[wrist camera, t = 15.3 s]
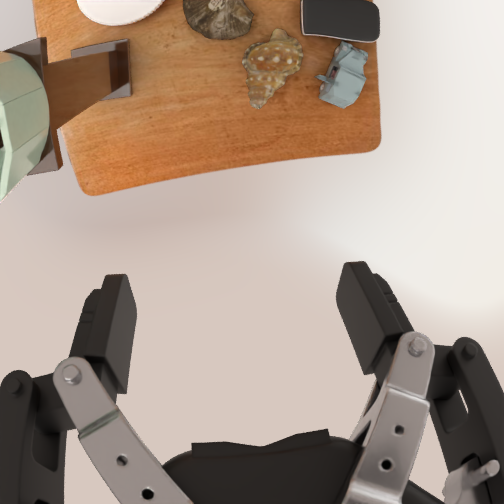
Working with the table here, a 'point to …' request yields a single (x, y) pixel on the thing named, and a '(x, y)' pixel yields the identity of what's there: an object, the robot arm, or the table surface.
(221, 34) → the fossilized seashell
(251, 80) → the seashell
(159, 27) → the table surface
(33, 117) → the green pedestal cup
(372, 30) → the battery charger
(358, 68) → the toy car
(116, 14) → the plastic lid
